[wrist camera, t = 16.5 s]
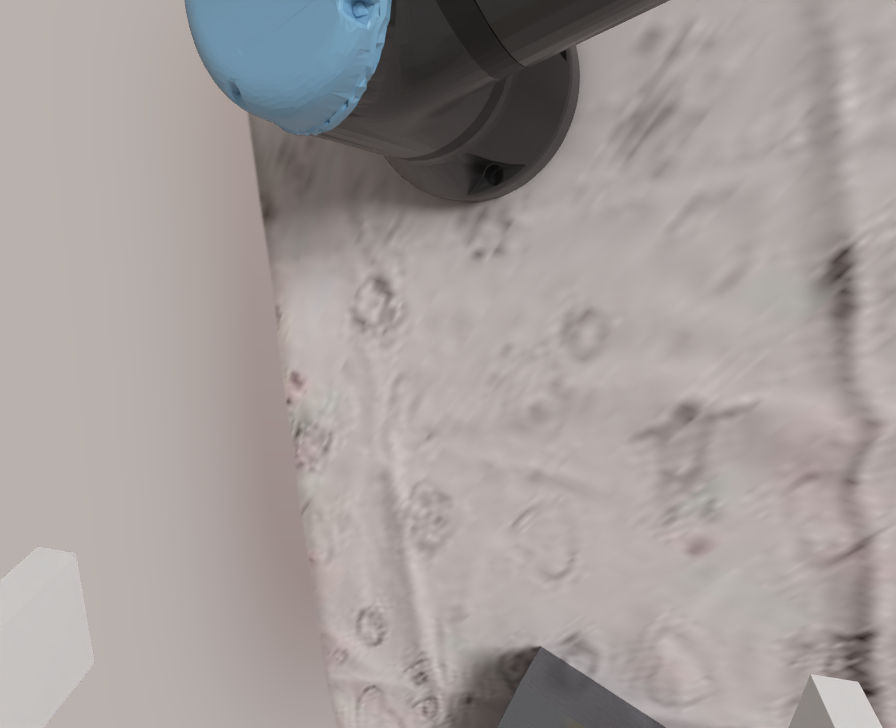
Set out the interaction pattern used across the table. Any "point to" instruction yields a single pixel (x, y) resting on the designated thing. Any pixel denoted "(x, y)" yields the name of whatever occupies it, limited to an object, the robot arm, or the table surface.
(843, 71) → the table surface
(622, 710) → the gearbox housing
